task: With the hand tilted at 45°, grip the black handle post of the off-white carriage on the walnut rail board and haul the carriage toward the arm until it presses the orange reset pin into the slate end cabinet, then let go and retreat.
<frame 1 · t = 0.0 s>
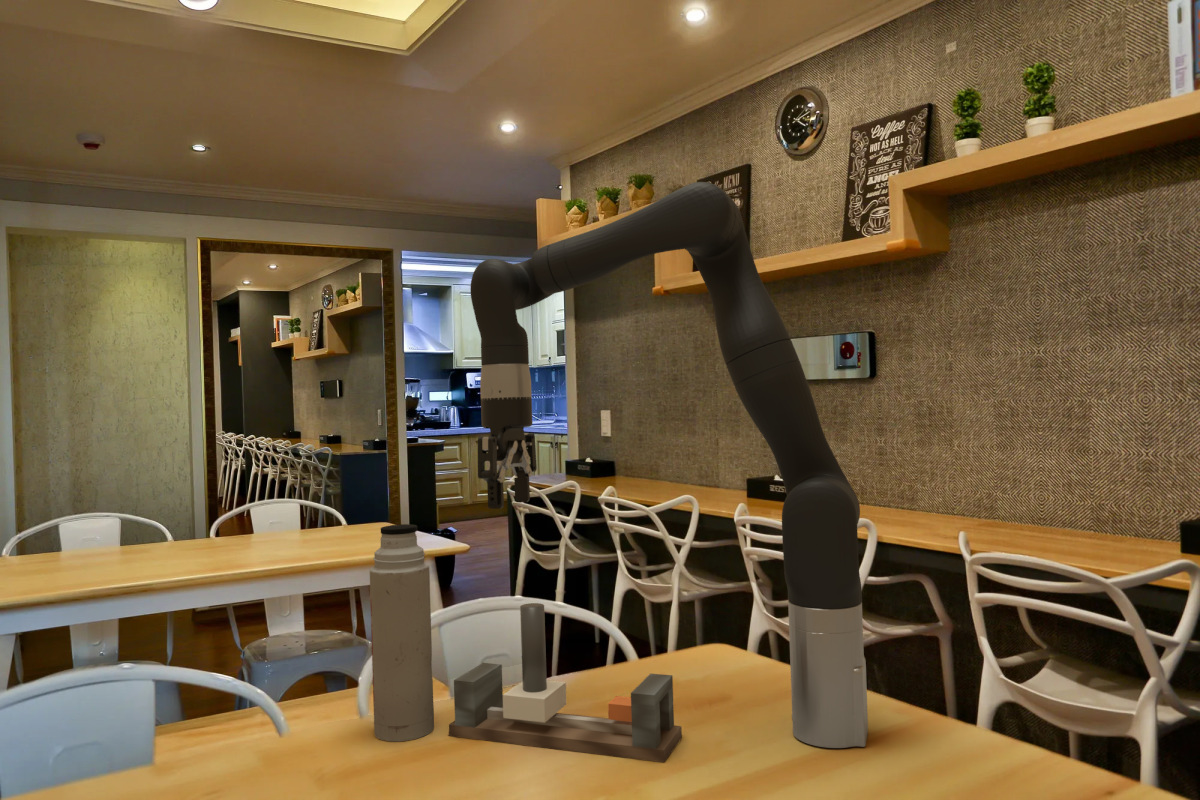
hand: (509, 505, 125), 29 cm above the table, tool pointing down, fingers open, 8 cm apart
reset pin: (630, 709, 108), point 4 cm above the table, slide at 0.0 cm
carriage: (533, 658, 113), point 10 cm above the table, slide at 4.0 cm
rail board: (563, 736, 111), on the table
thermos bottle: (404, 731, 116), on the table
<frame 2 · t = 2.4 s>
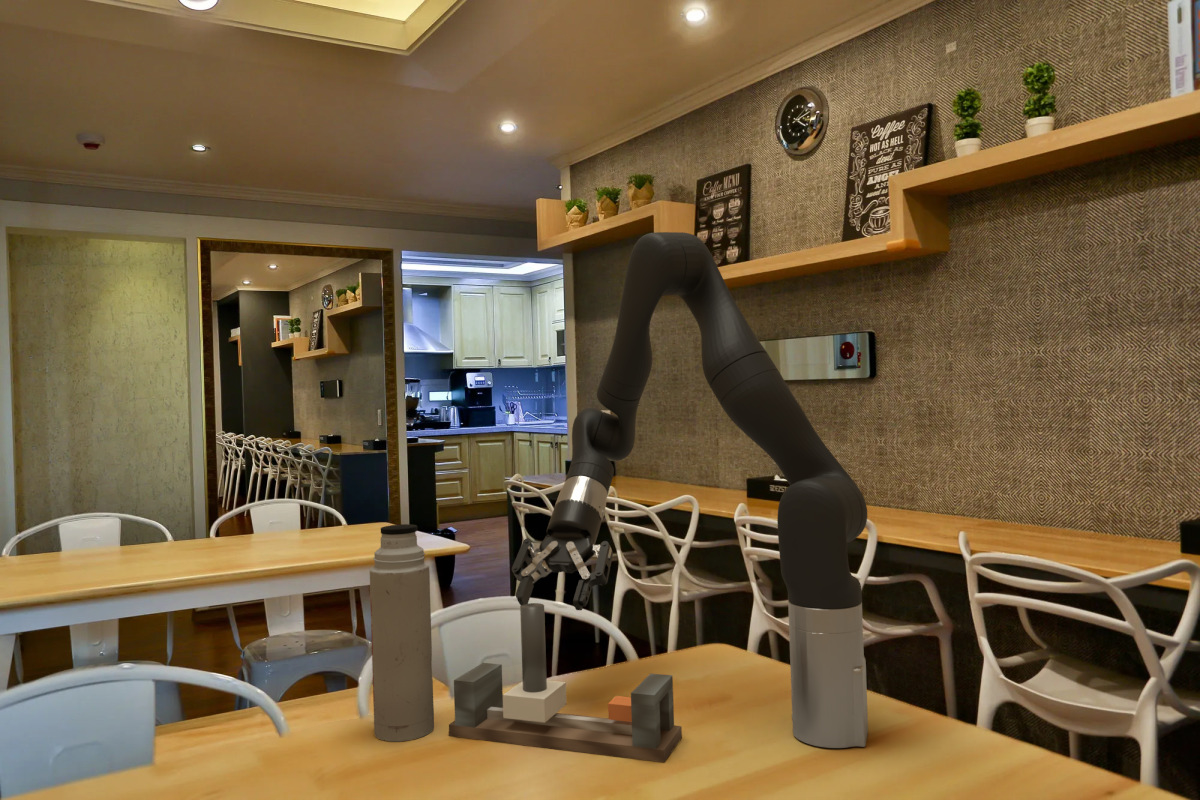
hand: (549, 605, 118), 16 cm above the table, tool tilted 45°, fingers open, 8 cm apart
nothing on the table moved.
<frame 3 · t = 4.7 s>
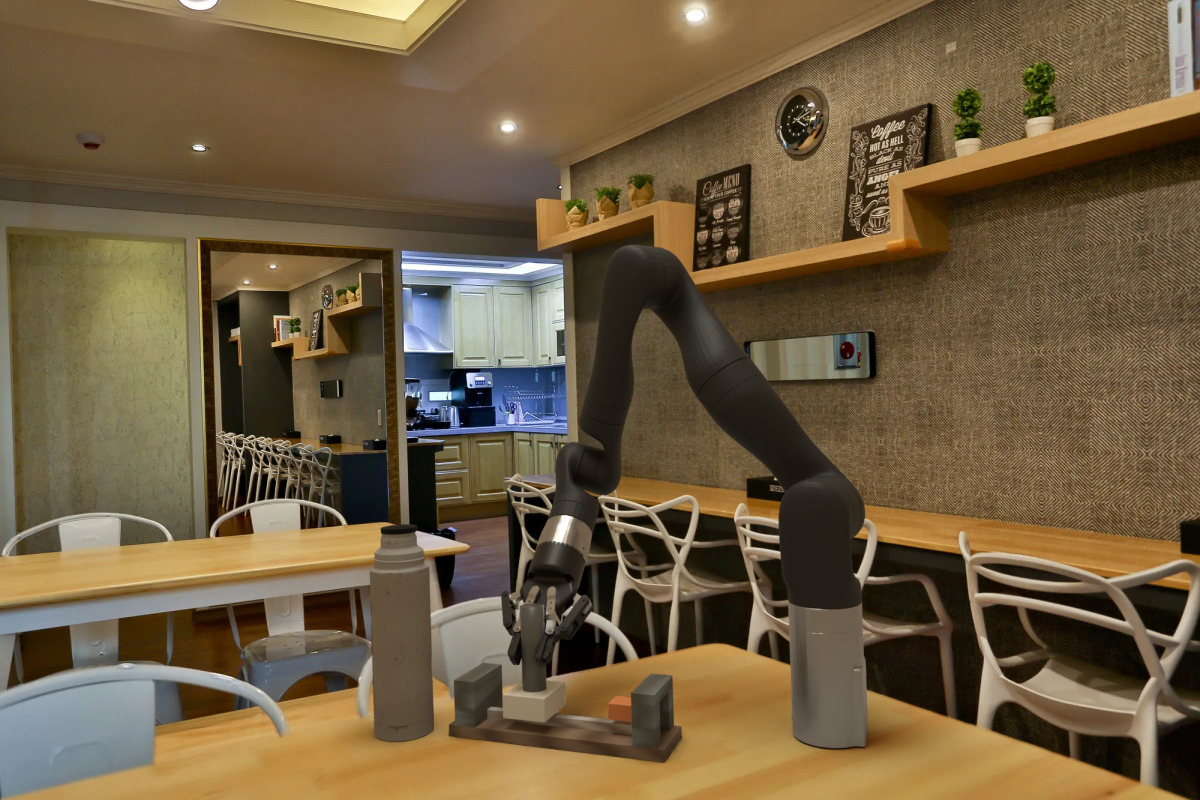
hand: (527, 662, 111), 10 cm above the table, tool tilted 45°, fingers closed on carriage, 3 cm apart
carriage: (533, 658, 113), point 10 cm above the table, slide at 4.0 cm, touching gripper
everything else where it was.
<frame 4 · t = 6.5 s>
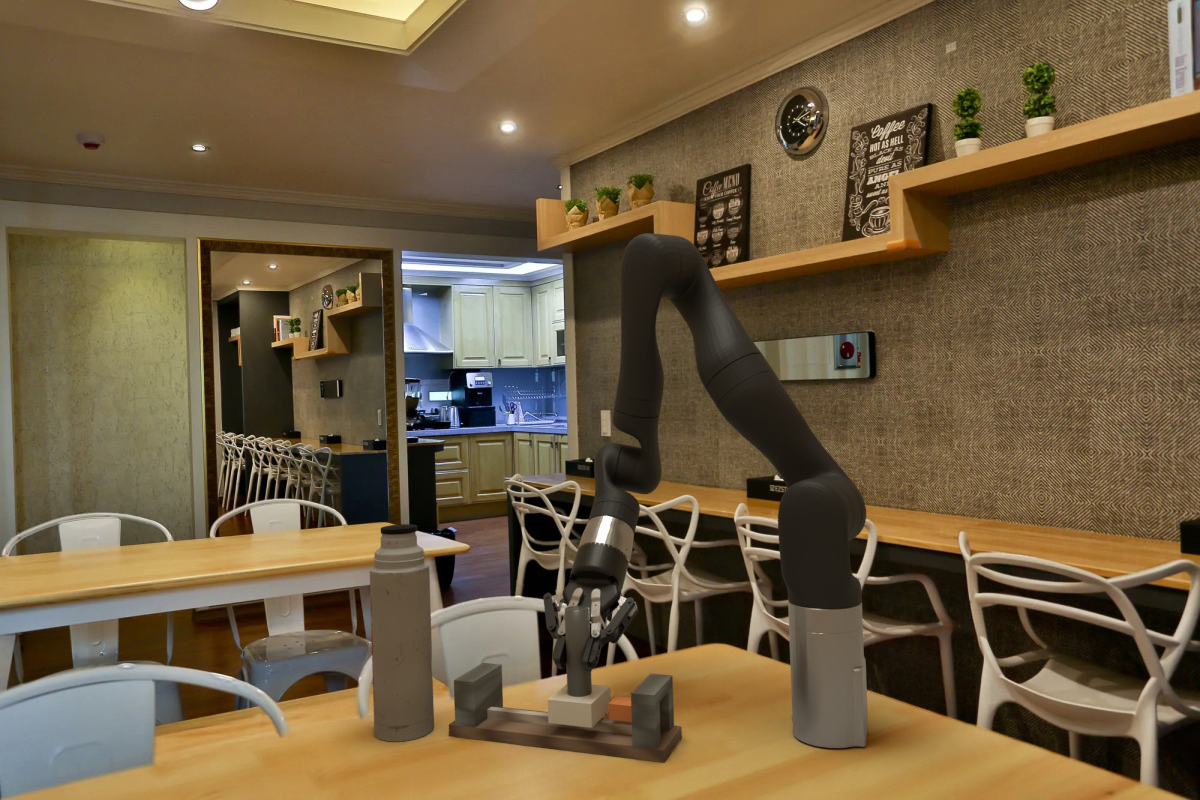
hand: (572, 666, 109), 10 cm above the table, tool tilted 45°, fingers closed on carriage, 3 cm apart
carriage: (578, 662, 111), point 10 cm above the table, slide at -2.5 cm, touching gripper
everything else where it was.
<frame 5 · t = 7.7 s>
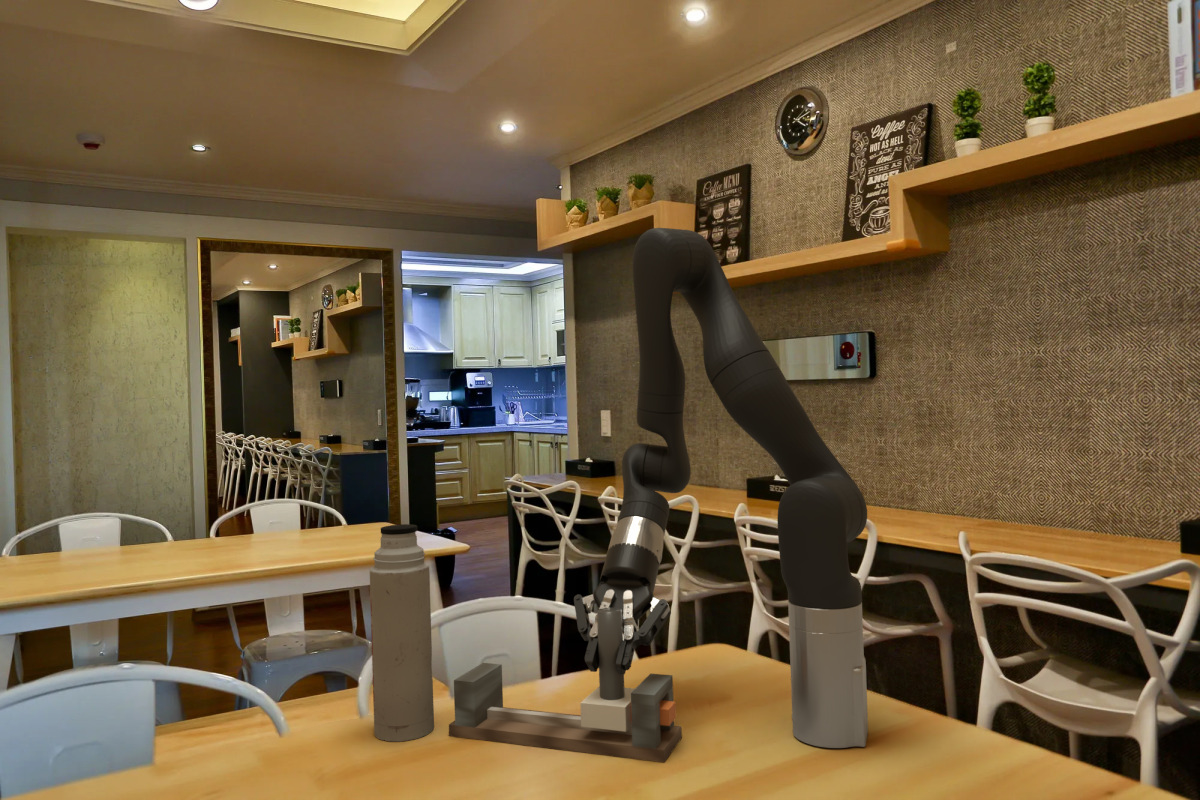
hand: (605, 669, 107), 10 cm above the table, tool tilted 45°, fingers closed on carriage, 3 cm apart
reset pin: (653, 711, 107), point 5 cm above the table, slide at 3.0 cm, touching carriage
carriage: (611, 664, 109), point 10 cm above the table, slide at -7.0 cm, touching gripper, reset pin
everything else where it was.
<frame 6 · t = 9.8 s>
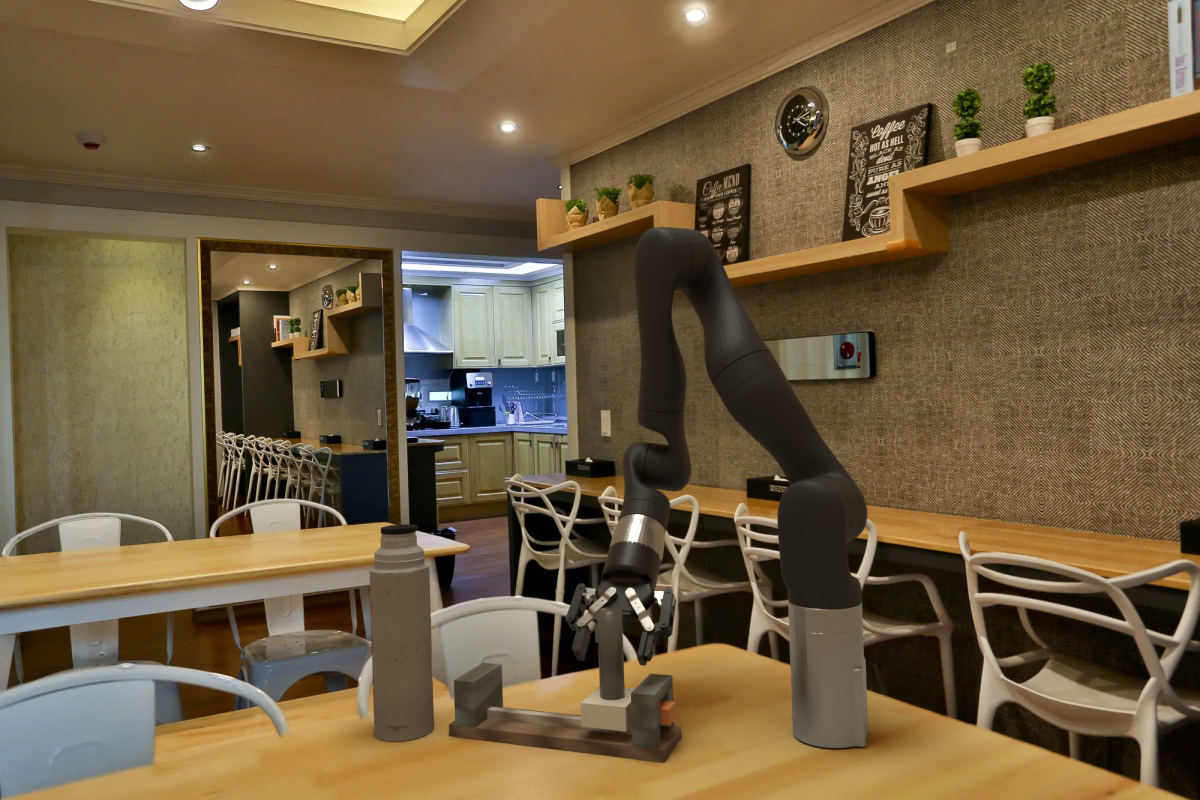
hand: (609, 660, 108), 11 cm above the table, tool tilted 45°, fingers open, 8 cm apart
carriage: (611, 664, 109), point 10 cm above the table, slide at -7.1 cm, touching reset pin
everything else where it was.
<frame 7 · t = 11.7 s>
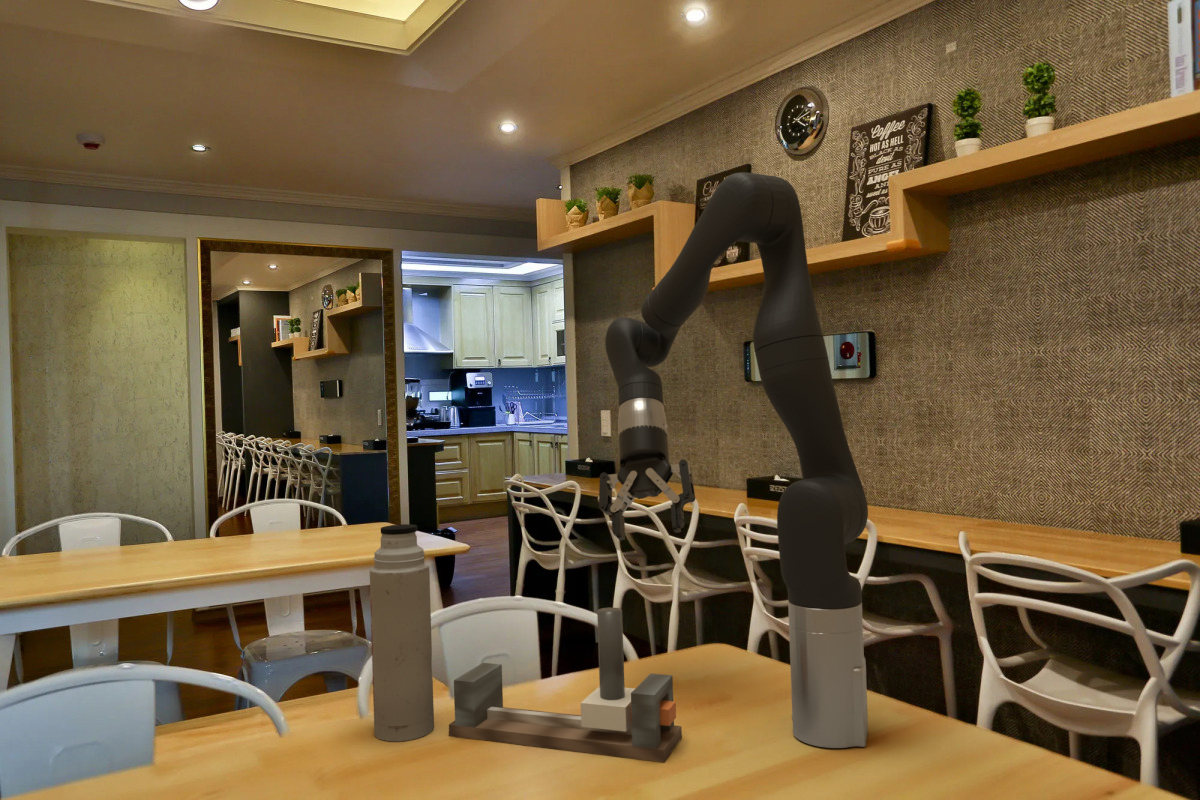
hand: (648, 535, 123), 24 cm above the table, tool tilted 25°, fingers open, 8 cm apart
nothing on the table moved.
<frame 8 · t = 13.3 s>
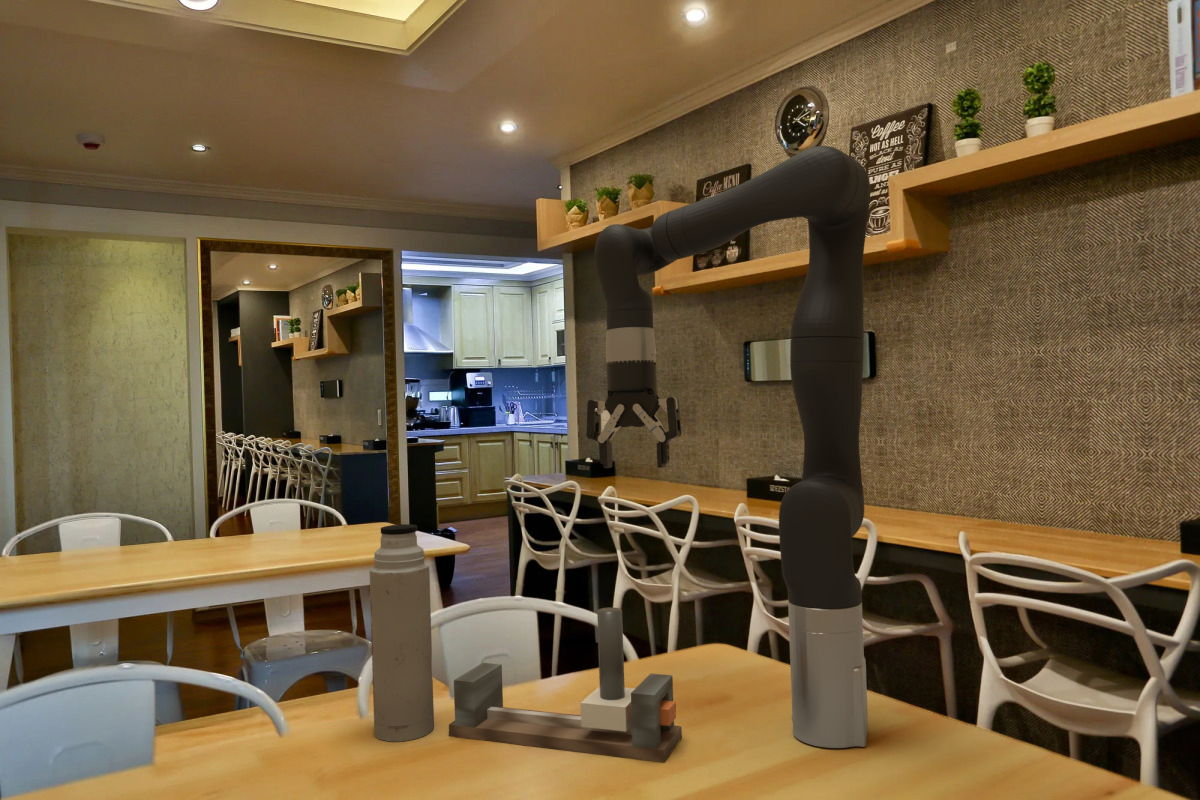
hand: (634, 467, 127), 34 cm above the table, tool pointing down, fingers open, 8 cm apart
nothing on the table moved.
at the end: carriage slide at -7.1 cm; reset pin slide at 3.1 cm; the gripper is holding nothing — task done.
